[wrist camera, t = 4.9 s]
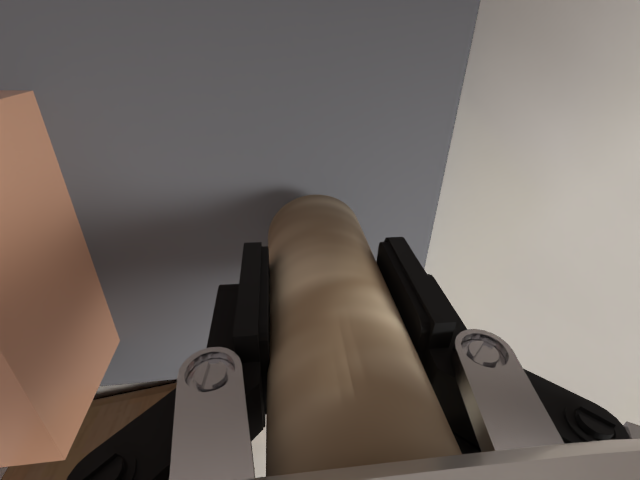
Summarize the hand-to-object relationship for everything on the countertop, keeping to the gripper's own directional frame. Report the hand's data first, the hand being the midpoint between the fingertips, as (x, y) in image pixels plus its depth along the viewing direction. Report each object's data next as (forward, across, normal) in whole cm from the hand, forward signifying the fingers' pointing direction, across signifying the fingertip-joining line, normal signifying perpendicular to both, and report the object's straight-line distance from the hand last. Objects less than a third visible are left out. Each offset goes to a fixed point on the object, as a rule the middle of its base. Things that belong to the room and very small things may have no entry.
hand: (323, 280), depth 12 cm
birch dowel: (+3, 0, 0) cm, 3 cm away
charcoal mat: (+5, +8, 0) cm, 9 cm away
